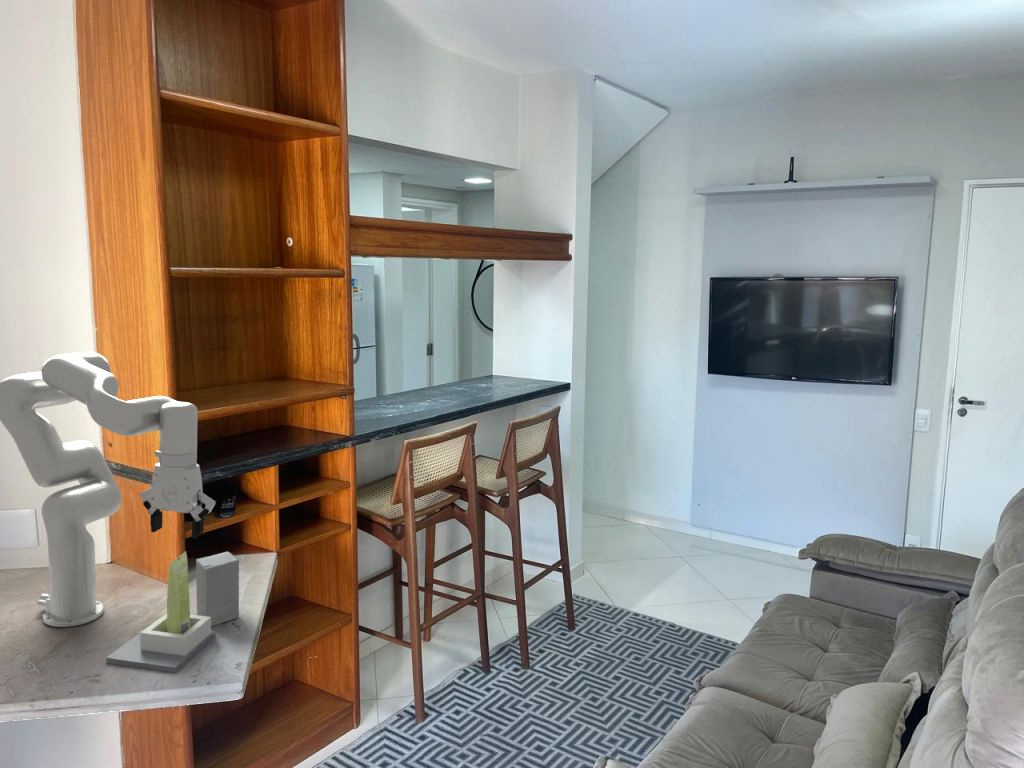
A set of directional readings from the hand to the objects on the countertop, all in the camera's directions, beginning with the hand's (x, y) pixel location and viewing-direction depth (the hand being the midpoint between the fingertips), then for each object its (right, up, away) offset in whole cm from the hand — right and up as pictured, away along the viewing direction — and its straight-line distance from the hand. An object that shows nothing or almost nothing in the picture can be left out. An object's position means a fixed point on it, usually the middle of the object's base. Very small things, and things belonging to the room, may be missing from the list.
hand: (176, 533), depth 165 cm
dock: (-4, -26, +1) cm, 27 cm away
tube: (-1, -25, +4) cm, 25 cm away
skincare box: (+3, -25, +16) cm, 30 cm away
